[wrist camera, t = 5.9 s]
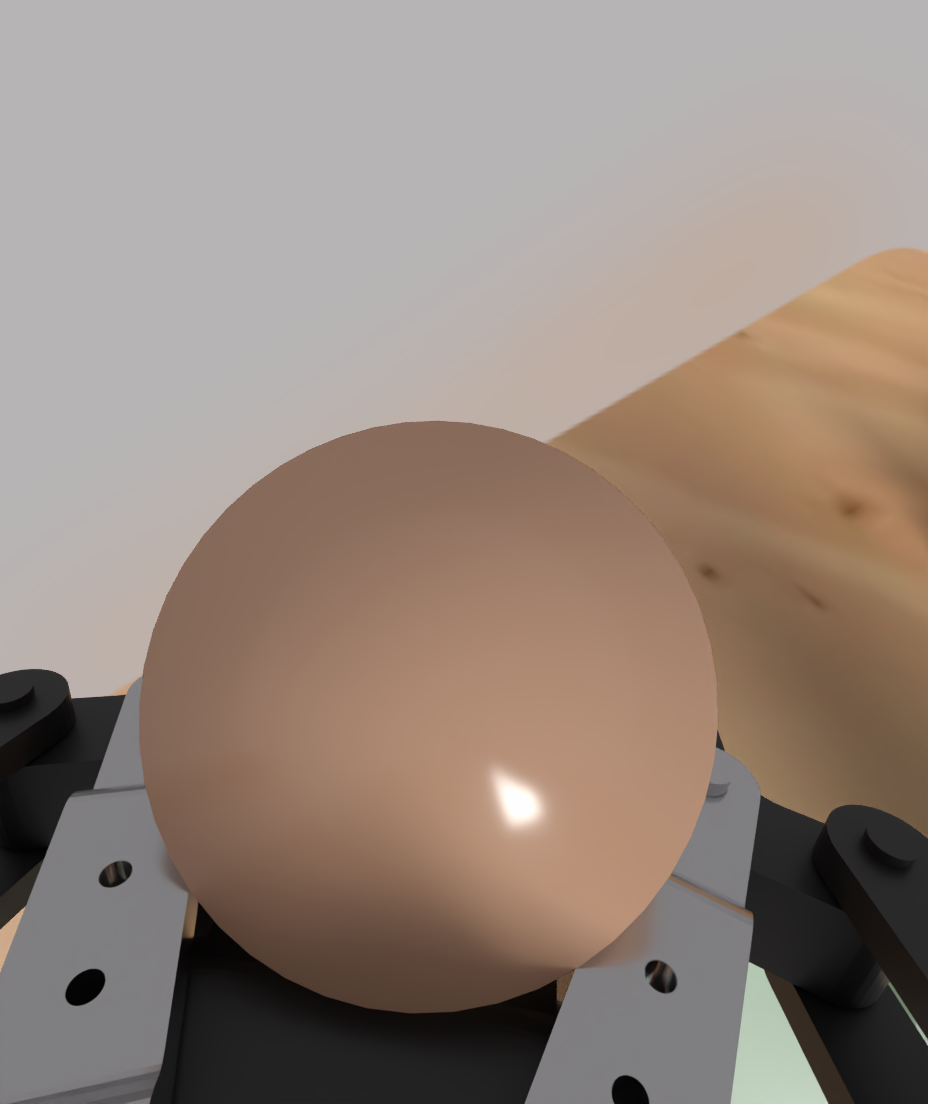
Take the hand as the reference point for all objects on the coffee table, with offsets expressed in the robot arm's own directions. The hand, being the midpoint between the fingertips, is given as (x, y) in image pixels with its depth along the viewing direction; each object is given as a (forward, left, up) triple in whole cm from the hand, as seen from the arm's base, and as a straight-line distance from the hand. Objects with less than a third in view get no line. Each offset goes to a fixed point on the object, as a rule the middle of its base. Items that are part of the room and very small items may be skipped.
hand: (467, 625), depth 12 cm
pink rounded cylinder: (0, +2, -5) cm, 5 cm away
